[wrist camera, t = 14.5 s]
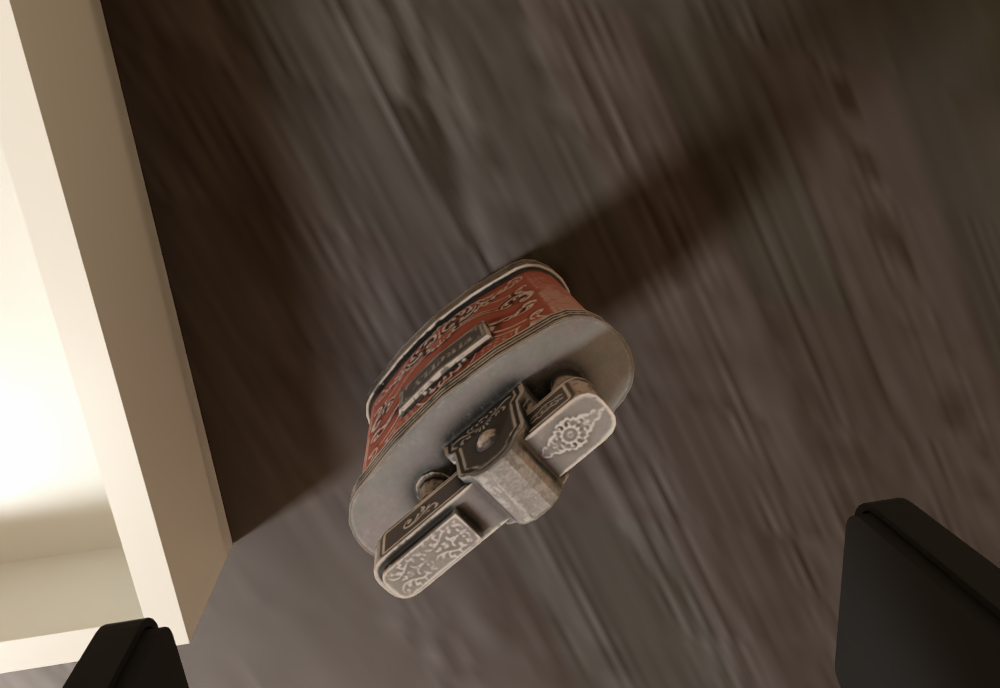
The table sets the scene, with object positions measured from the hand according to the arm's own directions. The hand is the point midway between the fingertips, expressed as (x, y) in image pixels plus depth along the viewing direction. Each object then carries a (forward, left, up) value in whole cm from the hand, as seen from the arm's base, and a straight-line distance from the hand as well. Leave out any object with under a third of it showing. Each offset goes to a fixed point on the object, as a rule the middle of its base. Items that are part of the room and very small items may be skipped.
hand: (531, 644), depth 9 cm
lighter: (0, 0, -15) cm, 15 cm away
